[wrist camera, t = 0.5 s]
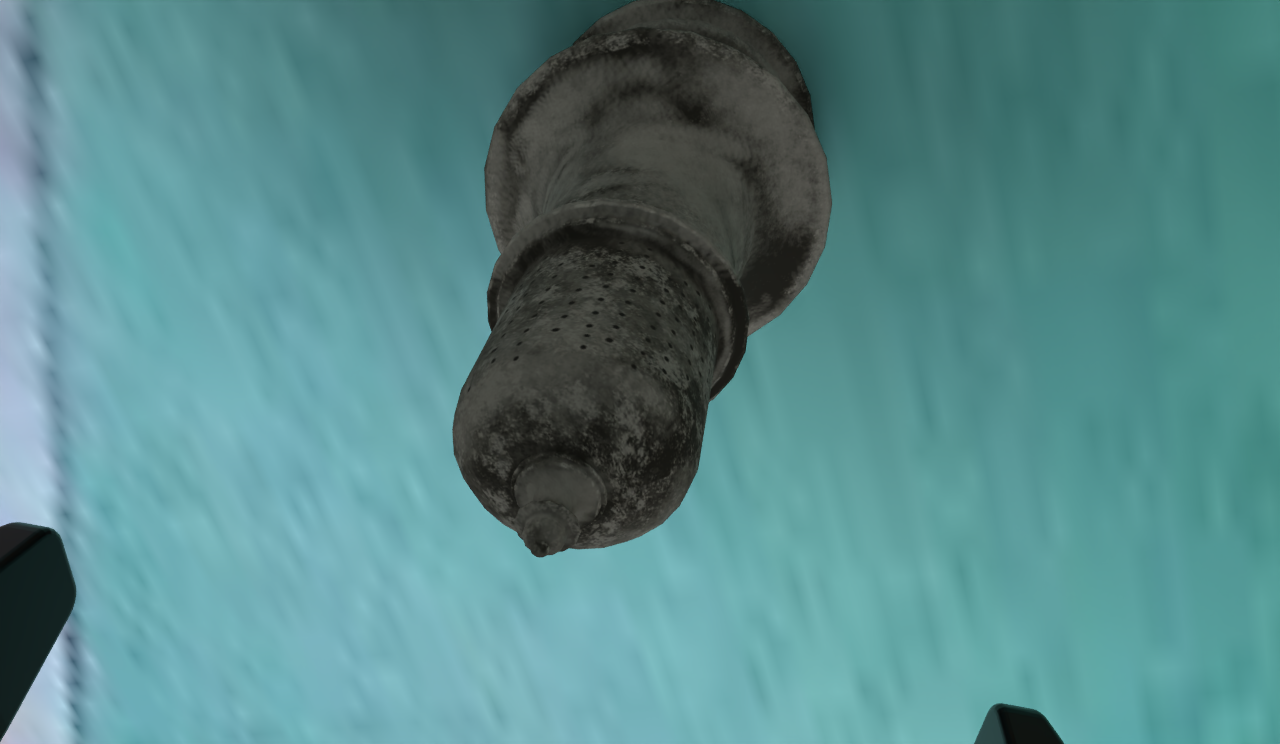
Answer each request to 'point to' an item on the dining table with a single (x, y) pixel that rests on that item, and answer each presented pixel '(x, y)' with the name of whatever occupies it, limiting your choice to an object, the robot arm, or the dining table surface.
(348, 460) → the dining table surface
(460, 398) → the salt shaker
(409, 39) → the dining table surface
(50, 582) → the robot arm
